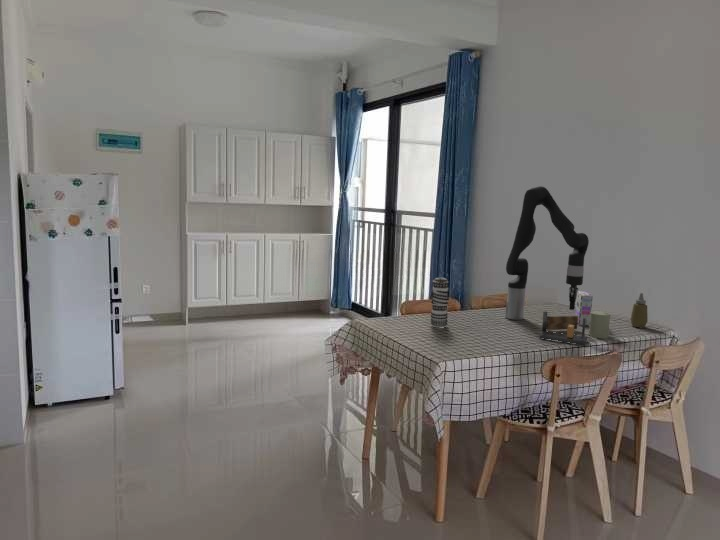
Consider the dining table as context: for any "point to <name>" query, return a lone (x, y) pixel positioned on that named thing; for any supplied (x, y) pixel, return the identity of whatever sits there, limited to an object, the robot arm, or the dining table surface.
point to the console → (564, 338)
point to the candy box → (583, 307)
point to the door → (561, 322)
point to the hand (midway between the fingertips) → (571, 309)
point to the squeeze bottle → (639, 312)
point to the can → (599, 324)
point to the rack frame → (558, 332)
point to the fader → (570, 331)
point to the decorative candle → (439, 302)
